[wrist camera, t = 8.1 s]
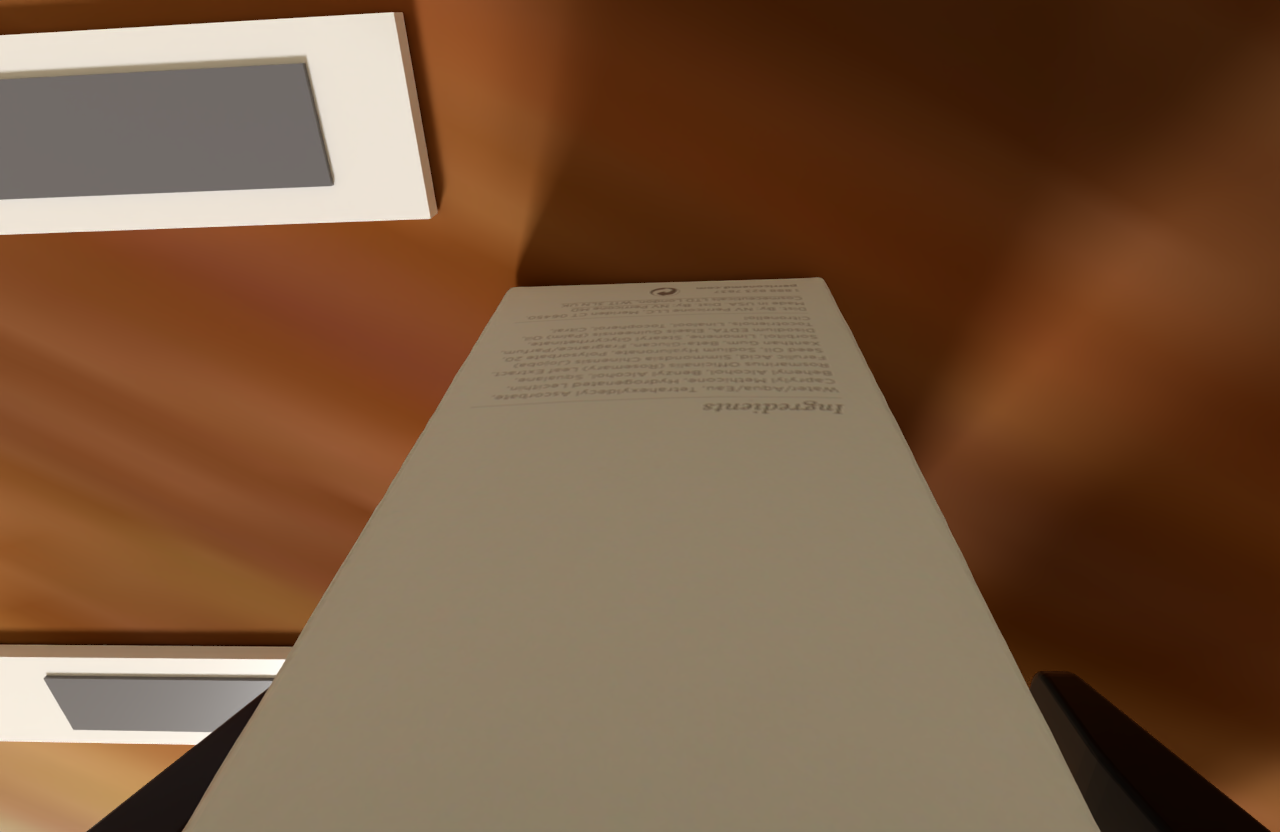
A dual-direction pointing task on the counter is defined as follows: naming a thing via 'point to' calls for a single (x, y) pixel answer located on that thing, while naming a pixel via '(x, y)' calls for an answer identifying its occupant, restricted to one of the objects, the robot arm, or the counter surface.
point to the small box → (653, 602)
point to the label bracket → (185, 198)
